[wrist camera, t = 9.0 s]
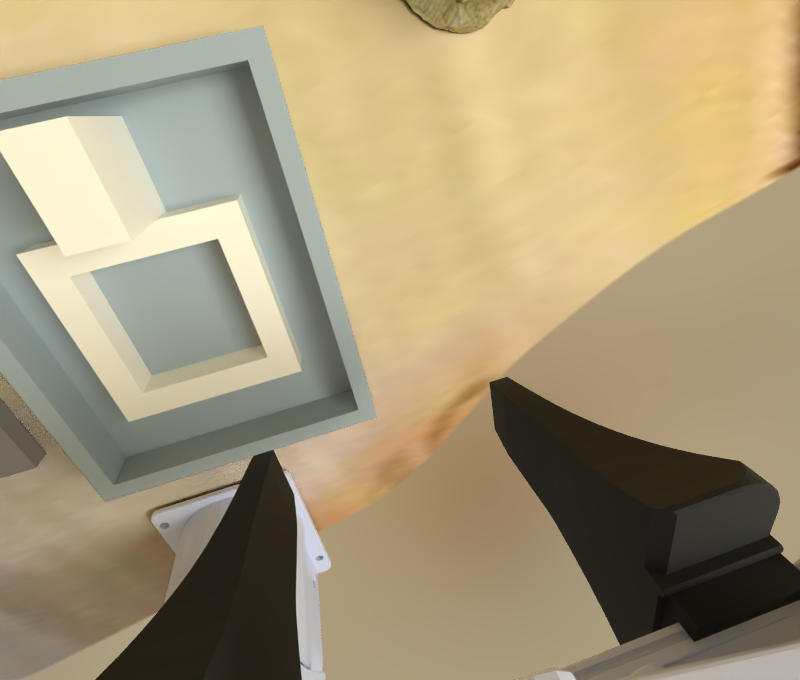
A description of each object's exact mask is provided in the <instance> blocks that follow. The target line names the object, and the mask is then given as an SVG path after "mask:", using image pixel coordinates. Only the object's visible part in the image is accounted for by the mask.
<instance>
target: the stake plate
mask: <svg viewBox="0 0 800 680" xmlns="http://www.w3.org/2000/svg"><path fill="white" fill-rule="evenodd" d="M45 454H46V453H45V451H44V450H43V449H42V448H41V447H40V445H39V444H38V443H37V442H36V441H35V439H34V438H33V437H32V436H31V435H30V433H29V432H28V431H27V430H26V429H25V428H24V426H23V425H22V424H21V423H20V422H19V420H18V419H17V418H16V417H15V416H14V414H13V413H12V412H11V411H10V410H9V408H8V407H7V406H6V405H5V404H4V403H3V401H2V400H1V399H0V478H2V477H5V476H9V475H12V474H15V473H19V472H22V471H26V470H29V469H32V468H36V467H37V465H38V464H39V462H40V461H41V460H42V458H43V457H44V455H45Z"/></svg>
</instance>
